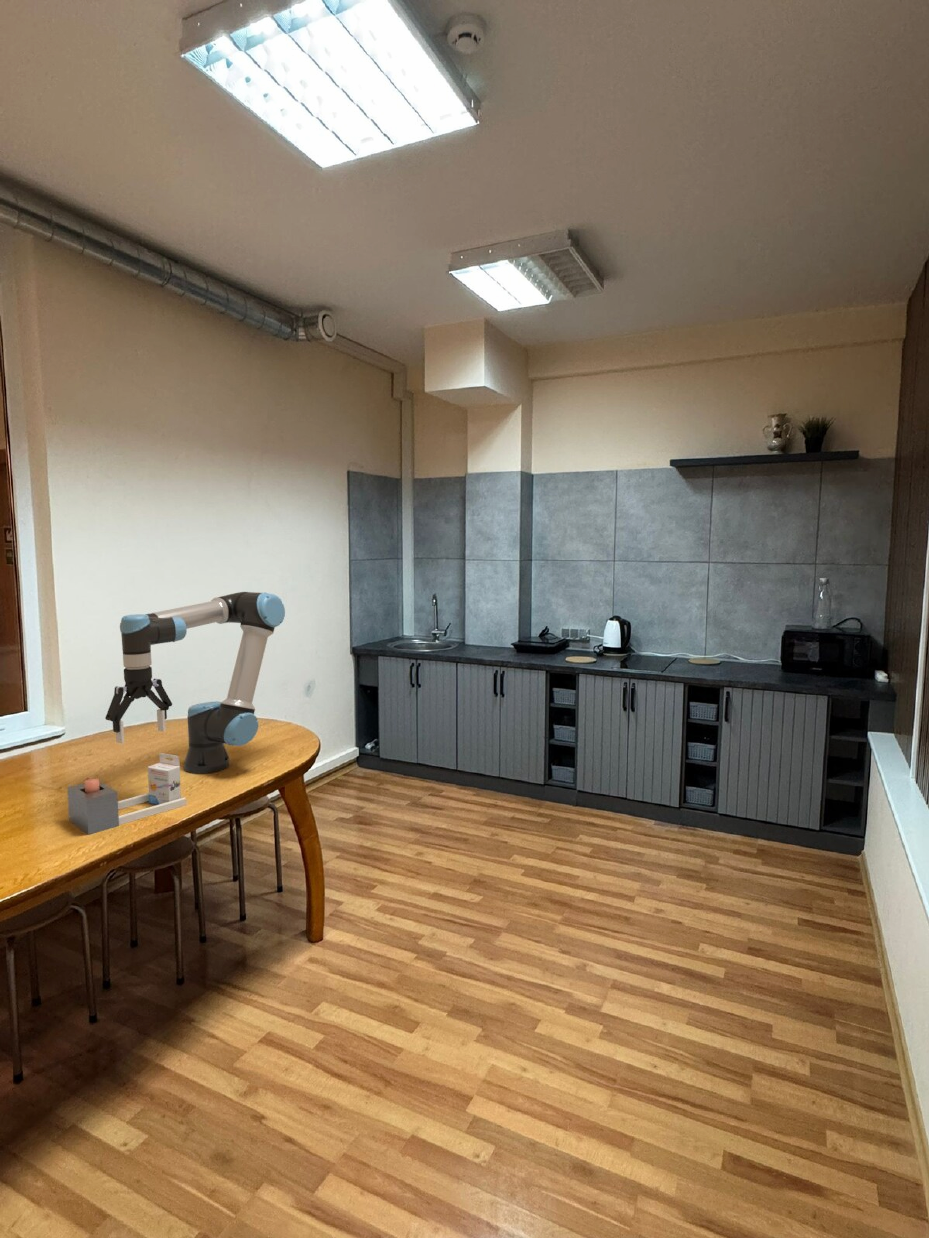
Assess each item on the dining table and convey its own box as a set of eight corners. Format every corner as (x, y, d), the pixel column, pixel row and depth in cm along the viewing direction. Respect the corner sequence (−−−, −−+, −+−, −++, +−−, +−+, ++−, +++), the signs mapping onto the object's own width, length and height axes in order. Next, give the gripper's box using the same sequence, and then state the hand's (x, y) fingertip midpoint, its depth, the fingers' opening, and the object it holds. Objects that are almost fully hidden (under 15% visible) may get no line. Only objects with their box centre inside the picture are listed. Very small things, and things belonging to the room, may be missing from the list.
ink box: (148, 803, 204) (146, 757, 203) (161, 798, 209) (159, 752, 207) (169, 807, 201) (167, 760, 200) (182, 802, 206) (180, 755, 204)
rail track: (166, 794, 212) (166, 788, 212) (186, 804, 204) (186, 798, 203) (99, 812, 197) (99, 806, 197) (118, 825, 189) (117, 818, 188)
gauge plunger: (96, 794, 191) (96, 777, 191) (102, 797, 189) (101, 780, 189) (83, 797, 189) (82, 780, 188) (88, 801, 186) (87, 783, 186)
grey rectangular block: (99, 812, 197) (97, 779, 196) (118, 825, 188) (117, 791, 187) (69, 820, 191) (67, 786, 190) (88, 834, 182) (86, 799, 181)
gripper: (166, 659, 210) (169, 724, 213) (88, 672, 189) (93, 745, 191) (182, 661, 207) (185, 727, 209) (104, 675, 185) (109, 749, 188)
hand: (141, 736), depth 200 cm, fingers open, 13 cm apart
